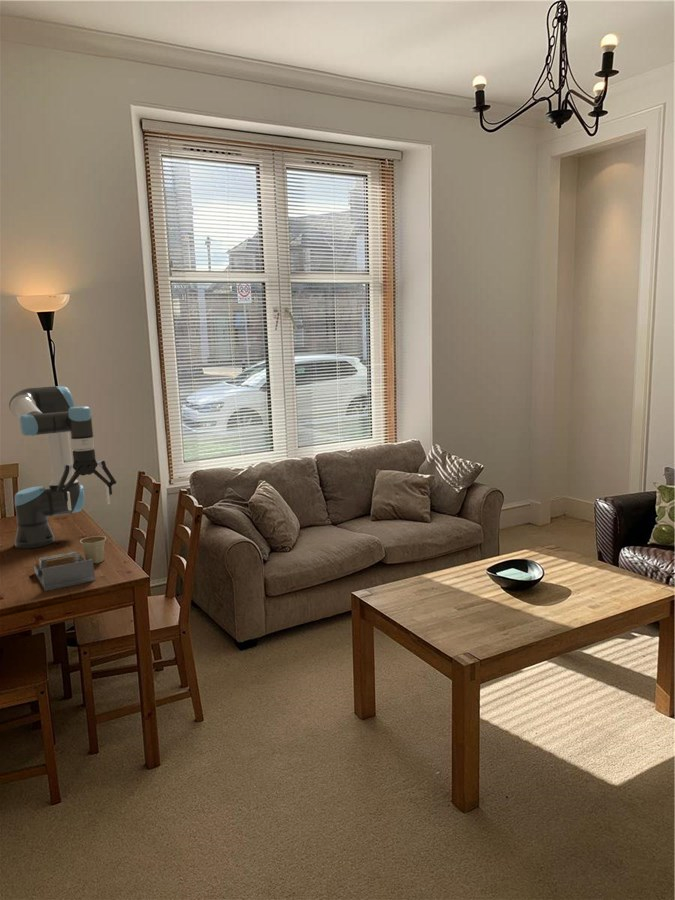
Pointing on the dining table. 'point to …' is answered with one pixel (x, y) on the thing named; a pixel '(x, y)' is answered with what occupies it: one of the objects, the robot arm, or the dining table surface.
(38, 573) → the grey open box
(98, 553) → the flower pot
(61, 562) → the block
